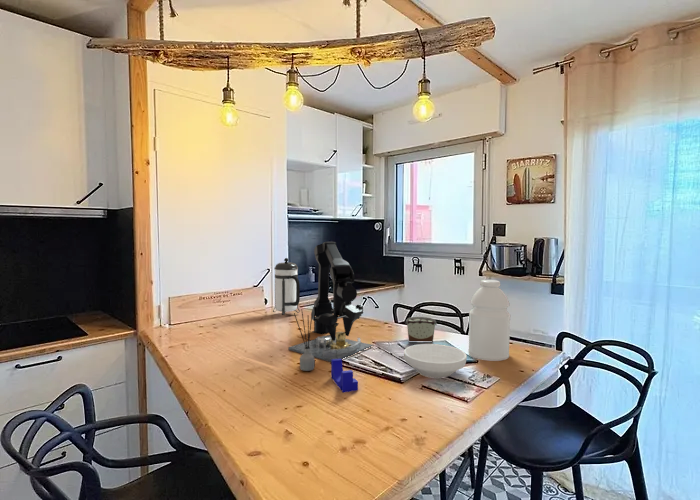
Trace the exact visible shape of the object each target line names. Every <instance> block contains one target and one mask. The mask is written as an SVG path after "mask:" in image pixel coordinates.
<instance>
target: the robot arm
mask: <svg viewBox="0 0 700 500" xmlns="http://www.w3.org/2000/svg"><path fill="white" fill-rule="evenodd" d="M313 252H314V256H315V257H314V258H315V260H316V262H317V264H318V279H317V280H318V283H317V284H318V285H317V288H318V289H317V298H316V299H315V300H314V301H313V307H312V310H311V312H310V316H311V315H312V321H313V330H312V331H311V333H315V334H318V335H326V334H328V335H330V336H331V338H332V340H333V341H335V337H336V332H337V326H338V325H339V323H338V321H339V319H342V321H343V322H342V323H343V327H344V332H345V333H346V337H349V336H350V334H351V333H350V332H351V330H352V328H353V324H354V323H355V322H356V321H358V319H359V320H360V318H361V317H362V314H363V315H364V305H363V304H361V303H359V304H356V305H353V304H352V302H353V301H355V300H356V298H357V296H358V292H357V289H356V287H354V286H353V285H352V284H353V283H355V281H356V280H355V279H356V277H355V273H354V270H353V268H352V266H351V265H350V263H349V262H348V261H347V260H345V259H343V257H342V254H341V253H340V252H339V250H338V247H337V242H336V241H325V242H323V243H320V244H317V245H316V246H314V249H313ZM330 278H331V281H332V283H333V285H332V286H333V287H332V289H333V291H332V294H333V295H332V298H333V299H331V300H330V299H329V291H330V290H329V288H330V286H329V285H330V284H329V282H330Z"/></svg>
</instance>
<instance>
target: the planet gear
mask: <svg viewBox="0 0 700 500" xmlns="http://www.w3.org/2000/svg"><path fill="white" fill-rule="evenodd" d="M346 337H347V336H346V333H345V331H336V343H332V345H331V349H339V348H345V347H349V346H351V344H348V343H347V342H346V339H347V338H346Z"/></svg>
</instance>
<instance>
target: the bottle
mask: <svg viewBox="0 0 700 500" xmlns="http://www.w3.org/2000/svg"><path fill="white" fill-rule="evenodd" d="M500 287H501V281H499V280H497V279H482V280H480V287H479V288H478V289H477V290H476V291H475V292H474V294H473V295H472V297H471V300H470V305H472V308H471V310H469V313H468V315H469V317H468V318H469V319H468V320H469V323H468V328H469V329H468V351H467V352H468V355H469V356H470V357H472V358H474V359H478V360H483V361H488V362H489V361H491V362H499V361H505V360H507V359H509V358H510V334H511V333H510V332H511V328H510V327H511V314H510V313H509V312H508V308H509V307H510V302H509V301H510V300H509V298H508V297H507V296H508V295H506V294H505V292H504V291H503V290H502V289H501V288H500Z"/></svg>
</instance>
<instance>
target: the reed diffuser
mask: <svg viewBox="0 0 700 500" xmlns="http://www.w3.org/2000/svg"><path fill="white" fill-rule="evenodd" d="M300 312H301V316H302V317H301V318H302V323H303V331H304V336H303V334H302V331H301V330H302V329H301V328H300V327H301V326H300V325H299V322H298V319H297V316H296V313H293V315H294V318H295V320H296V323H297V326H298V330H299V332H300V335H301V338H302V341H303V343H304V344H305V342H306V344H305V348H304V354H301V356H300V357H299V368H300V370H301V371H305V372H306V371H307V372H308V371H313V370H314V369H315V367H316V366H315V365H316V360H315V357H314V356H313V355H312V354H311V353H310V347H309V341H310V339H311V338H310V337H311V329H312V321H313V320H312V315H311V314H310V320H309V316H307V335H306V329H305V327H306V326H305V320H304V314H303V308H301V309H300ZM309 321H310V323H309ZM304 339H305V340H304ZM307 341H308V347H306V346H307Z"/></svg>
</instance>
